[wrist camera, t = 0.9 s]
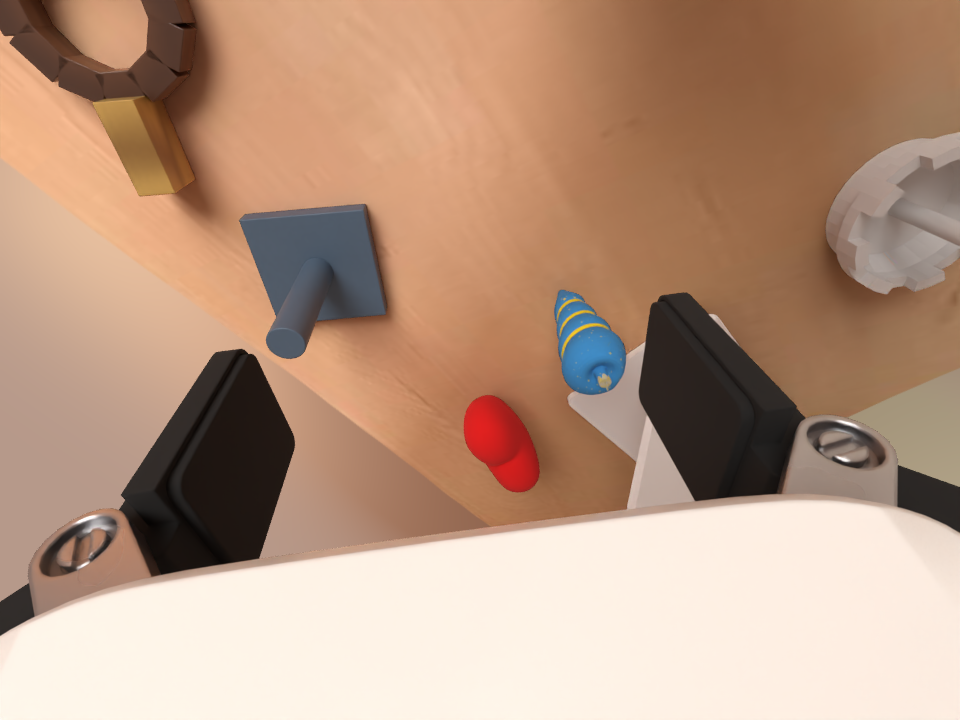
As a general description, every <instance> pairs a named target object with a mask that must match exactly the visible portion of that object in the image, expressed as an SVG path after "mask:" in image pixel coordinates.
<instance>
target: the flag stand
mask: <svg viewBox="0 0 960 720" xmlns="http://www.w3.org/2000/svg"><path fill="white" fill-rule="evenodd" d="M825 231H826V238H827V241H828V244H829V246H830V247H831V249H832V250H833V251H834V252H835V253H837V259H838V261H839V264H840V266H841V268H842V269H843V270H844V271H845V273H846V274H847V275H848V276H850V277H852V278H853V279H855V280H856V281H858V282H859V283H861V284H862V285H864V286H866V287H867V288H869V289H871V290H873V291H875V292H878V293H883V294H888V293H889V291H890V290H891V289H892V288H895V287H901V286H905V287H907V288H908V289H910V290H912V291H914V292H915V291H919V290H922V289H925V288H928V287H931V286H933V285H935V284H937V283H939V282H942V281H944V280H945V273H944V271H942V269H944V268H945V267H947V266H949V265H950V264H952V263H953V262H954V261H956V260H957V259H959V258H960V133H954V134H949V135H943V136H940V137H938V138H935V139H926V138H919V139H914V140H908V141H905V142H902V143H899V144H897V145H894V146H892V147H890V148H888V149H886V150H884V151H883V152H881V153H879V154H878V155H876V156H875V157H873V158H872V159H871V160H869V161H868V162H866V163H865V164H864V165H863V166H862V167H861V168H860V169H859V170H857V171H856V172H855V173H854V174H853V175H852V177H851V178H850V179H849V180H848V181H847V182H846V183H845V184H844V186H843V187H842V189H841V190H840V192H839V193H838V195H837V196H836V198H835V200H834V202H833V204H832V206H831V208H830V211H829V214H828V217H827V221H826V230H825Z"/></svg>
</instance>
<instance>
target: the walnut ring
mask: <svg viewBox="0 0 960 720" xmlns="http://www.w3.org/2000/svg"><path fill="white" fill-rule="evenodd" d="M141 1H142V4H143V6H144V9H145V11H146V14H147V16H148V34H147V48H146V52H145V53H144V54H143V55H142V56H141V57H140V58H139V59H138V60H137V61H136V62H135V63H134V64H133V65H132V66H131V67H130V68H126V69H113V68H111V67H109V66H106V65H104V64H102V63H100V62H98V61H95V60H93V59H91V58H89V57H87V56H84V55H82V54H81V53H80V52H79V51H78V50H77V49H76V48H75V47H74V46H73V45H72V44H71V43H70V42H69V41H68V40H67V39H66V38H65V37H64V36H63V35H62V34H61V33H60V32H59V31H58V30H57V29H56V28H55V27H54V26H53V24H52V22H51V20H50V18H49V16H48V15H47V13H46V11H45V9H44V7H43V5H42V3H41V1H40V0H0V30H1V32H2V34H3V35H4V36H14V37H13V38H12V40H11V41H10V44H11V45H12V46H13V47H14V48H16V49H17V50H18V51H19V52H20V53H21V54H22V55H23V56H24V57H25V58H26V59H28V60H29V61H30V62H31V63H32V64H33V65H34V66H35V67H36V68H37V69H38V70H39V71H41V72H42V73H43V74H44V75H45V76H46V77H47V78H48V79H49V80H50V81H51V82H56V81H59V87H61V88H63V89H66V90H68V91H70V92H73V93H75V94H77V95H80V96H82V97H84V98H87V99H89V100H91V101H94V102H93V103H92V104H93V106H94V108H95V110H96V112H97V114H98V116H99V118H100V120H101V122H102V124H103V126H104V128H105V130H106V132H107V134H108V136H109V138H110V140H111V141H112V143H113V145H114V147H115V149H116V151H117V153H118V155H119V157H120V159H121V161H122V163H123V165H124V167H125V169H126V171H127V173H128V175H129V177H130V179H131V181H132V183H133V185H134V187H135V189H136V191H137V193H138V195H139V196H151V195H163V194H175V193H176V192H178V191H179V190H181V189H182V188H184V187H185V186H186V185H188V184H189V183H191V182H192V181H193V180H195V177H194V174H193V172H192V170H191V167H190V165H189V162H188V160H187V158H186V155H185V153H184V151H183V148H182V146H181V144H180V141H179V139H178V136H177V134H176V132H175V129H174V127H173V125H172V122H171V120H170V117H169V115H168V113H167V110H166V108H165V106H164V103H163V101H162V99H164V98H167V97H168V96H169V95H170V94H171V93H172V92H173V91H174V90H175V89H176V88H177V87H178V86H179V85H180V84H181V83H182V82H183V81H184V80H185V79H186V78H187V77H188V76H189V75H190V74H189V73H188V72H187V71H188V70H192V64H193V56H194V47H195V39H196V28H194V27H192V26H190V25H188V24H186V23H195V22H196V21H195V18H194V15H193V13H192V10H191V7H190V4H189V1H188V0H141Z"/></svg>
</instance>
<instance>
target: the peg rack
mask: <svg viewBox="0 0 960 720" xmlns="http://www.w3.org/2000/svg"><path fill="white" fill-rule="evenodd" d="M239 222H240V224H241V227H242V229H243V232H244V234H245V237H246V240H247V242H248V245H249V247H250V250H251V253H252V255H253V258H254V260H255V263H256V265H257V268H258V271H259V273H260V276H261V278H262V281H263V284H264V286H265V289H266V291H267V294H268V296H269V299H270V302H271V304H272V307H273V309H274V312H275V315H276V319H275V321H274V323H273V325H272V327H271V328H270V330H269V332H268V334H267V337H266V343H267V346H268V348H269V349H270V351H271V352H273V353H274V354H275V355H277V356H279V357H282V358H286V359H292V358H297V357H299V356H301V355H302V354H303V353H304V352H305V350H306V347H307V344H308V342H309V339H310V336H311V334H312V331H313V328H314V326H315V323H316V321H322V320H333V319H343V318H354V317H365V316H376V315H385V314H386V310H387V304H386V299H385V294H384V289H383V285H382V280H381V275H380V270H379V266H378V261H377V256H376V251H375V247H374V242H373V237H372V232H371V228H370V223H369V218H368V214H367V209H366V205H365V204H358V205H346V206H335V207H323V208H311V209H299V210H288V211H276V212H264V213H252V214H245V215H244V216H243V217H242V218H241V219H240V220H239Z"/></svg>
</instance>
